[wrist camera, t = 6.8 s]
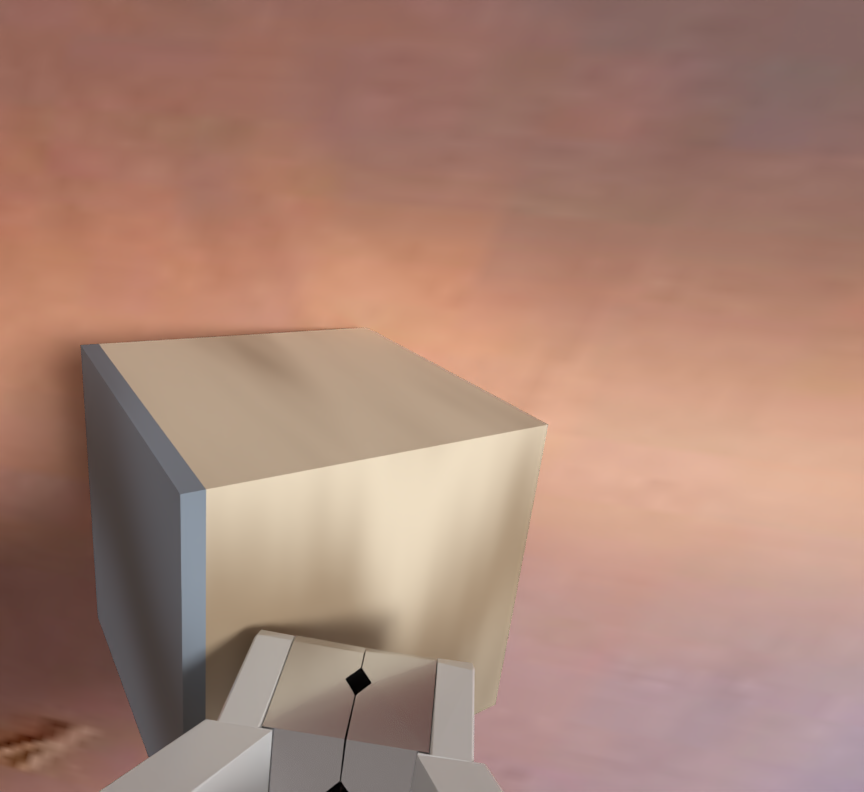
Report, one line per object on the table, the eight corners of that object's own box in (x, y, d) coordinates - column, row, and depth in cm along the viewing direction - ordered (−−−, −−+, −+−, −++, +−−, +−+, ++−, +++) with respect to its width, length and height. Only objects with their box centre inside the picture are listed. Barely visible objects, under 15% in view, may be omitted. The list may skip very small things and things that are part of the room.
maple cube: (495, 704, 13) (184, 856, 10) (347, 548, 18) (97, 616, 14) (548, 424, 11) (180, 494, 8) (367, 327, 16) (80, 345, 12)
